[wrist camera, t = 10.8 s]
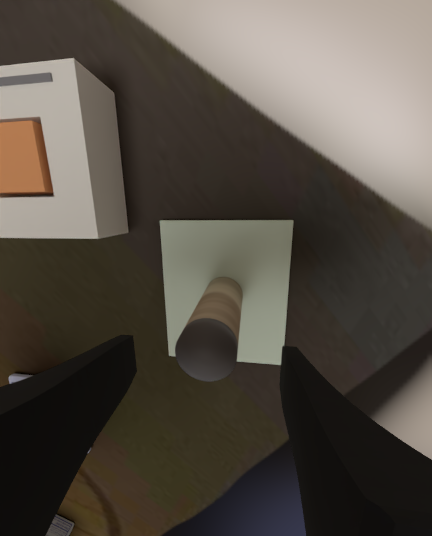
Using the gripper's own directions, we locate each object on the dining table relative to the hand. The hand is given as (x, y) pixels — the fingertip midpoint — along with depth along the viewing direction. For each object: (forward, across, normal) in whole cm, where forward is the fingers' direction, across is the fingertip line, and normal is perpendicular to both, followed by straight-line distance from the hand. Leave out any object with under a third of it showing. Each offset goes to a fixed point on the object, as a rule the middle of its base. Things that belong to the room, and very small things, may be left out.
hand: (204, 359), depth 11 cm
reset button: (+7, +13, -10) cm, 18 cm away
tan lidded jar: (+8, 0, 0) cm, 8 cm away
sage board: (+9, 0, 0) cm, 9 cm away
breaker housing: (+9, +13, -10) cm, 18 cm away
